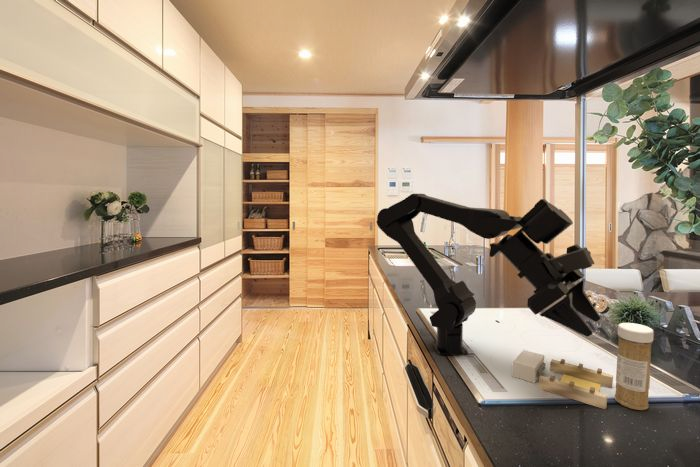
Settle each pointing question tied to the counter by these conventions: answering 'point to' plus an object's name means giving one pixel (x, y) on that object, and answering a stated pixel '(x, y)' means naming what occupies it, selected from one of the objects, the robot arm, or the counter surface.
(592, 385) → the band
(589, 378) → the guide channel
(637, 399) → the sprinkles bottle
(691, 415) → the counter surface
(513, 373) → the block
